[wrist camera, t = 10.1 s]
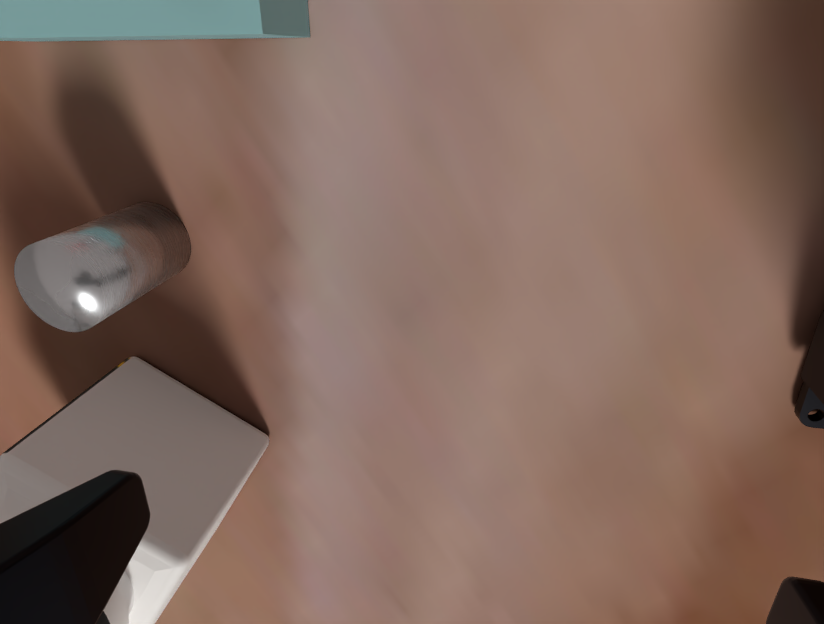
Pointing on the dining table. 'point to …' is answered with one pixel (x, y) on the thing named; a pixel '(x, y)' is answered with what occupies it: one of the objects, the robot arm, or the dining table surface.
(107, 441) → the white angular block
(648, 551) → the dining table surface
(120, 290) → the pin short
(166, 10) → the socket block
